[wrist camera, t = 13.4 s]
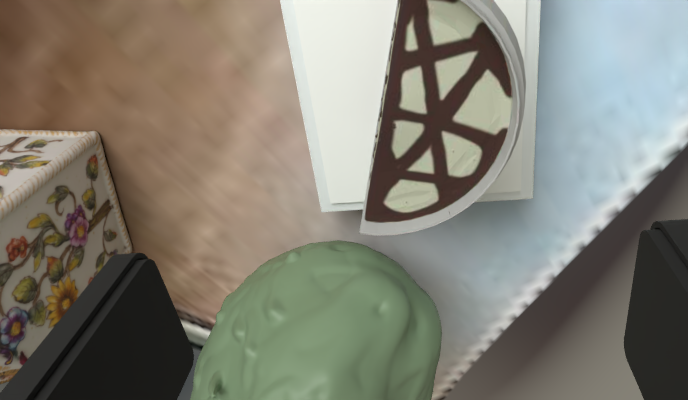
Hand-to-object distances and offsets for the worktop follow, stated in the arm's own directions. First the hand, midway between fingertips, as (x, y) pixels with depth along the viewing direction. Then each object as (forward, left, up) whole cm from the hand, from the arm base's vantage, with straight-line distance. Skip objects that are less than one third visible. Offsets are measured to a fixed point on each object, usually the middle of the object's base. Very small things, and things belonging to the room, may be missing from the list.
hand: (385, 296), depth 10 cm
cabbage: (+8, +21, -27) cm, 35 cm away
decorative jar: (+30, +11, -27) cm, 41 cm away
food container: (-2, +2, -22) cm, 22 cm away
